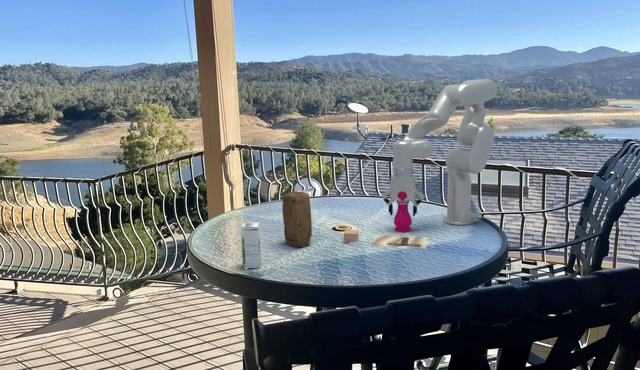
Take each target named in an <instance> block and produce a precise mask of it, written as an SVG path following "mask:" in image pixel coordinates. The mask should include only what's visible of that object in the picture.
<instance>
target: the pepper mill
mask: <svg viewBox="0 0 640 370" xmlns="http://www.w3.org/2000/svg"><path fill="white" fill-rule="evenodd" d="M397 197H398V198H399V199H401V201H395V202H396V204H397V211H396V214H395V216H394V218H393V224H394V226H395V228H394V231H395V232H397V233H410V232H412V231H411V230H412V228H411V226H412V225H413V221H412V220H413V219H412V216H411V214H410V212H409V203H410V201H404V199H406V198H407V193H406V192H404V191H401V192H399V193H398V195H397Z"/></svg>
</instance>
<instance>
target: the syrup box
mask: <svg viewBox="0 0 640 370" xmlns="http://www.w3.org/2000/svg"><path fill="white" fill-rule="evenodd" d="M240 232H241V233H240V236H241V251H242V252H241V253H242V255H241V256H242V269H243V268H254V269H261V263H262V260H261V259H262V258H261V257H262V256H261V233H260V223H259V222H257V221H254V222H253V221H251V222H250V221H249V222H244V223H242V225H241V228H240Z"/></svg>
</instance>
